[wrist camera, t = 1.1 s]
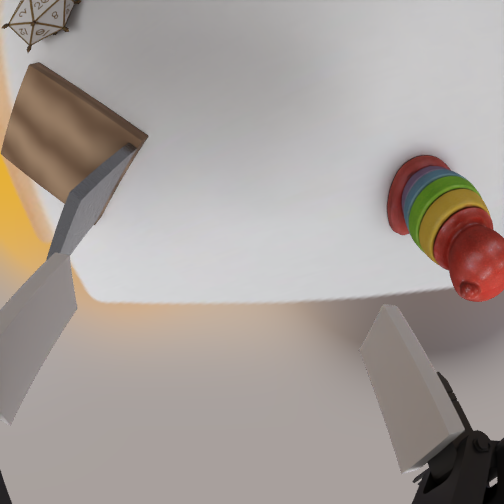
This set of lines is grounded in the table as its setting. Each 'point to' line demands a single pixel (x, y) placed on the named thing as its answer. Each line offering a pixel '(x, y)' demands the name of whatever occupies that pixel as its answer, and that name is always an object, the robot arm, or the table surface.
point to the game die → (40, 19)
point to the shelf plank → (63, 133)
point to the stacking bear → (448, 225)
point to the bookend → (88, 202)
